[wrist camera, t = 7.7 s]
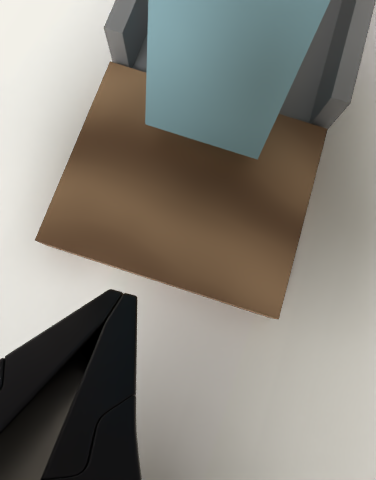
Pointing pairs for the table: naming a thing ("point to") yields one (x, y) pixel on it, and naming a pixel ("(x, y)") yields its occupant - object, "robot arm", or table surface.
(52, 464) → the robot arm
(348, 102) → the box
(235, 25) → the block
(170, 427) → the table surface
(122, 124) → the board
